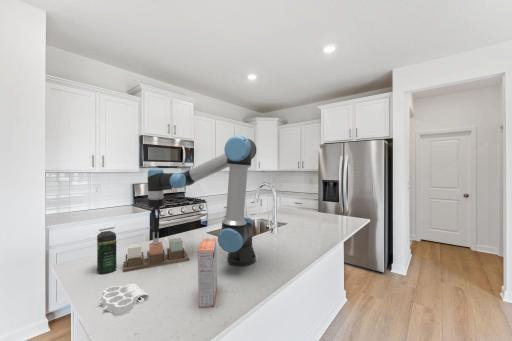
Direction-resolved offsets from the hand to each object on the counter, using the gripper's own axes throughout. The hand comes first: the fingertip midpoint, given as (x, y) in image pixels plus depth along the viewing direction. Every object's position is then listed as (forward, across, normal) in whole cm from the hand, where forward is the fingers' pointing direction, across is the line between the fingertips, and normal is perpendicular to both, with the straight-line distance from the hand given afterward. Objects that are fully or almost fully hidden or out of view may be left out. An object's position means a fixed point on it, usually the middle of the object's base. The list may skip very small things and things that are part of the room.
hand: (155, 243), depth 126 cm
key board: (+10, 0, +1) cm, 10 cm away
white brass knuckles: (+11, +33, -14) cm, 37 cm away
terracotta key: (+6, 0, 0) cm, 6 cm away
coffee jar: (+10, -1, -22) cm, 24 cm away
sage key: (+6, 0, +10) cm, 12 cm away
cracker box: (+10, +45, +15) cm, 48 cm away
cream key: (+6, 0, -10) cm, 11 cm away
